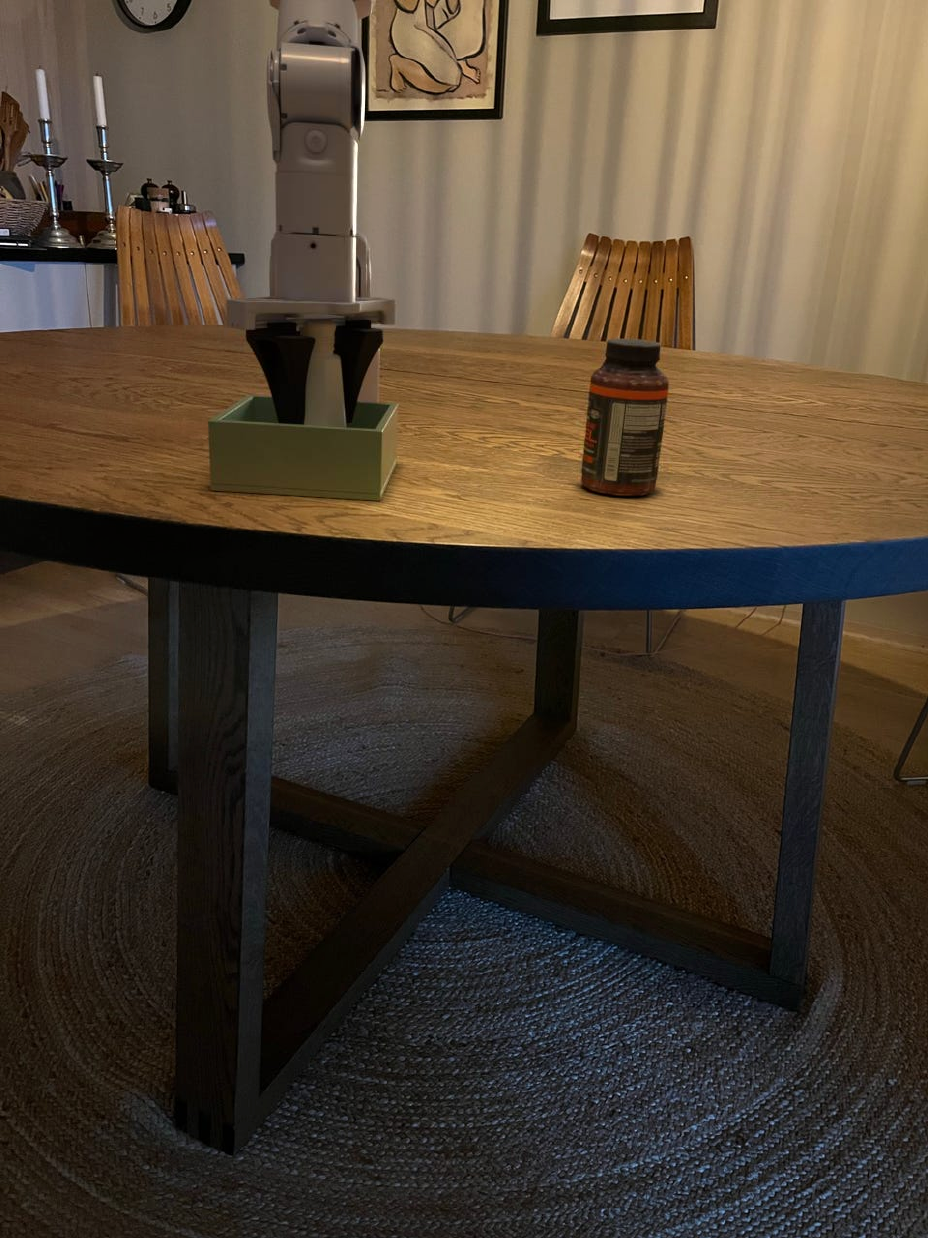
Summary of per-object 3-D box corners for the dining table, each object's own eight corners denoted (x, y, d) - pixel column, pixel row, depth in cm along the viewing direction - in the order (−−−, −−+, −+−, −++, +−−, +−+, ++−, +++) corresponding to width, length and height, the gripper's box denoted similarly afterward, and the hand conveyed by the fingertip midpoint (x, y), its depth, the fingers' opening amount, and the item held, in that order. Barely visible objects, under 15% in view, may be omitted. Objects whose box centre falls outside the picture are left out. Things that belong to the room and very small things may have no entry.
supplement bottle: (573, 478, 81) (587, 334, 77) (644, 481, 82) (662, 338, 78) (587, 497, 76) (603, 343, 71) (664, 499, 76) (684, 347, 72)
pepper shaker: (363, 464, 79) (365, 321, 75) (333, 478, 74) (334, 325, 70) (301, 456, 81) (301, 315, 77) (268, 469, 76) (266, 319, 72)
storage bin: (249, 455, 83) (248, 394, 81) (396, 464, 82) (398, 403, 81) (210, 490, 71) (207, 420, 69) (380, 501, 71) (382, 430, 69)
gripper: (270, 233, 64) (273, 443, 69) (426, 240, 74) (419, 423, 79) (205, 228, 68) (212, 427, 73) (361, 236, 79) (358, 409, 83)
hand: (316, 424), depth 76 cm, fingers open, 4 cm apart
